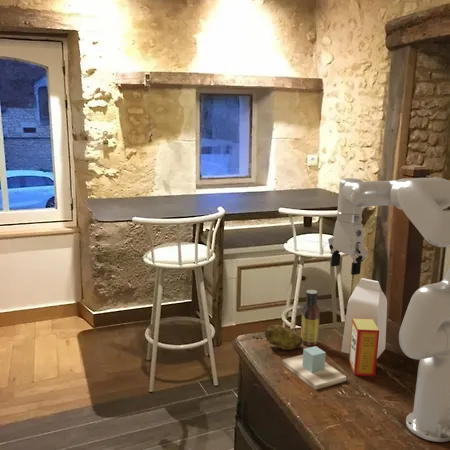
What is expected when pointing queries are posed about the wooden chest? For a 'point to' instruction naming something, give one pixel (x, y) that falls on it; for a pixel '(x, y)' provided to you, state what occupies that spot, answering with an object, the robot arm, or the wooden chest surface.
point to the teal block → (314, 359)
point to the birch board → (316, 378)
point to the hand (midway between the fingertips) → (345, 269)
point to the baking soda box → (363, 347)
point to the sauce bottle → (310, 319)
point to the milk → (366, 311)
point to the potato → (282, 337)
